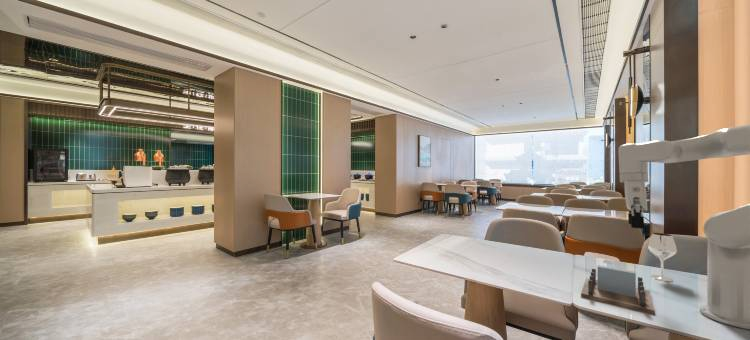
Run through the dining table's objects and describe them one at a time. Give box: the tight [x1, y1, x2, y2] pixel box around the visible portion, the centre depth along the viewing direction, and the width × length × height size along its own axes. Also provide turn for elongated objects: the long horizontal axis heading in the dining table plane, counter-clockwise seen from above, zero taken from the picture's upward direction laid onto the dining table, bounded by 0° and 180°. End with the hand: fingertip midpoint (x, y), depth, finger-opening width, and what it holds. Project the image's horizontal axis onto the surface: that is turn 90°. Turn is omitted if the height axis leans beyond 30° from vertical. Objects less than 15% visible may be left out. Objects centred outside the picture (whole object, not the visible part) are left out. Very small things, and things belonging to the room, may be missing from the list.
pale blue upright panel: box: [597, 265, 637, 297], centre depth 98 cm, size 10×2×8 cm, turn 49°
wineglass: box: [647, 232, 678, 282], centre depth 114 cm, size 8×8×18 cm
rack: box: [580, 268, 655, 315], centre depth 98 cm, size 18×19×6 cm
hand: (636, 226), depth 100 cm, fingers open, 9 cm apart
